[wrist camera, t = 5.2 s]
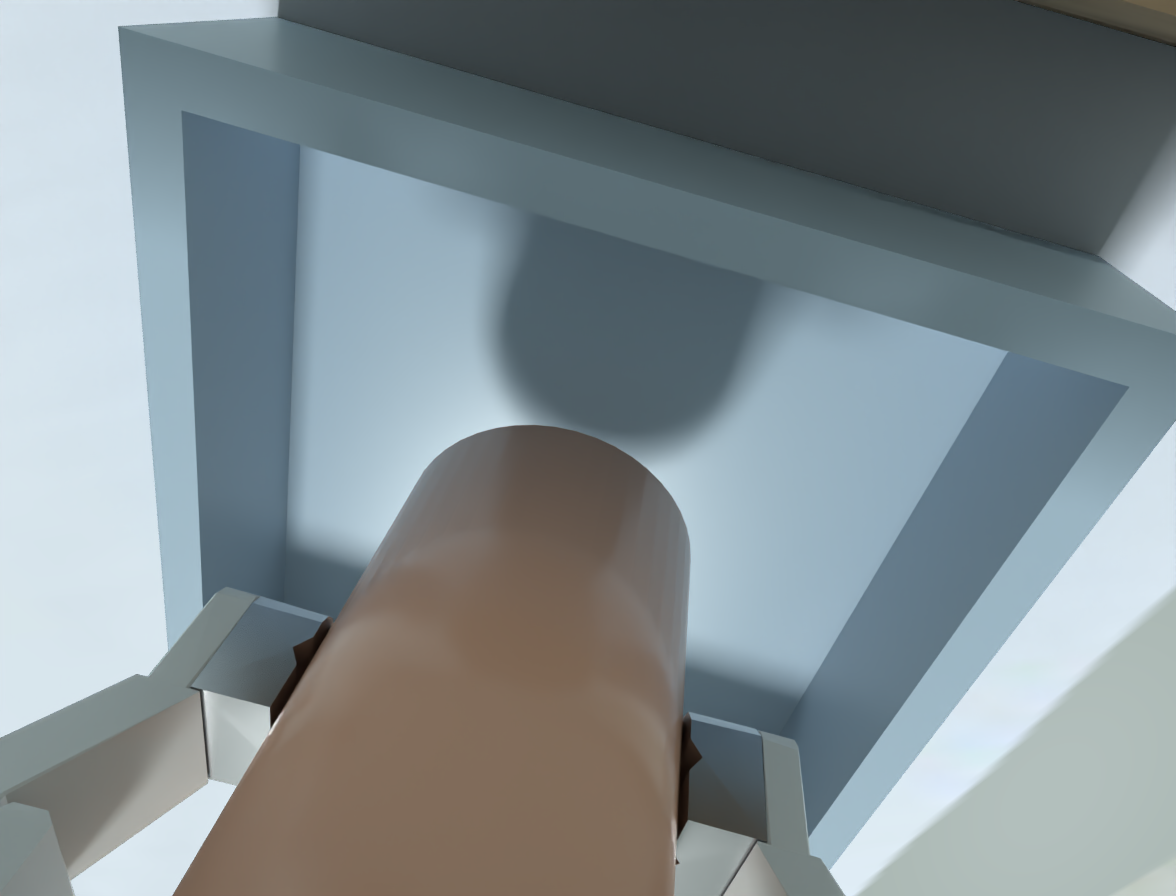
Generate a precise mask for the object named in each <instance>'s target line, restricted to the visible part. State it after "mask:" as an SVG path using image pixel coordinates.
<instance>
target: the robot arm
mask: <svg viewBox="0 0 1176 896" xmlns="http://www.w3.org/2000/svg"><path fill="white" fill-rule="evenodd" d="M332 625H333V618H332V617H329V616H326V615H323V614H319V613H316V612H313V611H309V610H306V609H302V608H299V607H296V606H292V605H289V604H286V603H282V602H279V601H276V600H272V599H269V598H265V597H262V596H258V595H254V594H251V593H247V592H244V591H240V590H237V589H233V588H230V587H225V588H223V589H222V590H220V591H219V592H217V593H216V594H214V595H213V597H212V598H211V599H210V600H209V602H208V603H207V604H206V605H205V606H204V608H203V609H202V610H201V611H200V613H199V614H198V615H197V616H196V618H195V619H194V620H193V621H192V622H191V624H190V625H189V626H188V627H187V629H186V630H185V631H184V632H183V633H182V635H181V636H180V637H179V638H178V640H177V641H176V642H175V643H174V645H173V646H172V647H171V648H170V649H169V651H168V652H167V653H166V654H165V656H164V657H163V658H162V659H161V661H160V662H159V663H158V664H157V665H156V667H155V668H154V669H153V670H152V672H151V673H150V674H149V675H148V677H147V676H143V675H139V674H135V675H133V676H131V677H129V678H127V679H125V680H123V681H121V682H118V683H116V684H114V685H112V686H110V687H108V688H106V689H103V690H101V691H99V692H97V693H95V694H93V695H91V696H89V697H86V698H84V699H82V700H80V701H78V702H76V703H74V704H71V705H69V706H67V707H65V708H63V709H61V710H59V711H56V712H54V713H52V714H50V715H48V716H46V717H44V718H42V719H39V720H37V721H35V722H33V723H31V724H29V725H27V726H24V727H22V728H20V729H18V730H16V731H14V732H12V733H10V734H7V735H5V736H3V737H1V738H0V896H75V894H74V891H73V887H72V884H71V881H70V880H72V879H73V878H75V877H76V876H78V875H79V874H80V873H82V872H83V871H85V870H86V869H87V868H89V867H90V866H92V865H93V864H94V863H96V862H97V861H99V860H100V859H102V858H103V857H104V856H106V855H107V854H109V853H110V852H111V851H113V850H114V849H116V848H117V847H118V846H120V845H121V844H123V843H124V842H126V841H127V840H128V839H130V838H131V837H133V836H134V835H135V834H137V833H138V832H140V831H141V830H142V829H144V828H145V827H147V826H148V825H150V824H151V823H152V822H154V821H155V820H157V819H158V818H159V817H161V816H162V815H164V814H165V813H166V812H168V811H169V810H171V809H172V808H174V807H175V806H176V805H178V804H179V803H181V802H182V801H183V800H185V799H186V798H188V797H189V796H191V795H192V794H193V793H195V792H196V791H198V790H199V789H200V788H202V787H203V786H205V785H206V784H207V783H208V779H211V780H216V781H220V782H224V783H228V784H232V785H236V786H238V784H239V782H240V780H241V779H242V777H243V775H244V774H245V772H246V770H247V769H248V767H249V765H250V764H251V762H252V760H253V758H254V757H255V755H256V753H257V752H258V750H259V748H260V747H261V745H262V743H263V742H264V740H265V738H266V736H267V735H268V733H269V731H270V730H271V728H272V726H273V725H274V723H275V721H276V720H277V718H278V716H279V715H280V713H281V711H282V709H283V708H284V706H285V704H286V703H287V701H288V699H289V698H290V696H291V694H292V693H293V691H294V689H295V687H296V686H297V684H298V682H299V681H300V679H301V677H302V676H303V674H304V672H305V671H306V669H307V667H308V665H309V664H310V662H311V660H312V659H313V657H314V655H315V654H316V652H317V650H318V649H319V647H320V645H321V643H322V642H323V640H324V638H325V637H326V635H327V633H328V632H329V630H330V628H331V627H332ZM674 896H845V895H844V893H843V891H842V890H841V888H840V887H839V885H838V884H837V882H836V881H835V879H834V878H833V876H832V875H831V873H830V871H829V870H828V868H827V867H826V865H825V864H824V862H823V861H822V859H821V858H818V857H814V856H811V855H810V849H809V839H808V830H807V821H806V812H805V803H804V793H803V784H802V775H801V766H800V756H799V747H798V746H797V744H796V742H795V740H793V739H789V738H786V737H782V736H778V735H774V734H771V733H767V732H763V731H760V730H759V731H757V730H756V729H755V728H751V727H747V726H743V725H739V724H735V723H731V722H727V721H723V720H719V719H715V718H712V717H708V716H704V715H700V714H696V713H692V712H688V713H687V714H686V715H685V716H684V717H683V726H682V747H681V767H680V787H679V807H678V827H677V847H676V868H675V888H674Z"/></svg>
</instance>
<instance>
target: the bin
mask: <svg viewBox="0 0 1176 896" xmlns="http://www.w3.org/2000/svg"><path fill="white" fill-rule="evenodd" d="M118 31H119V43H120V56H121V68H122V80H123V93H124V105H125V118H126V130H127V143H128V155H129V167H130V180H131V192H132V205H133V217H134V230H135V242H136V254H137V267H138V279H139V292H140V304H141V317H142V329H143V342H144V354H145V366H146V379H147V391H148V404H149V416H150V429H151V441H152V453H153V466H154V478H155V491H156V503H157V516H158V528H159V540H160V553H161V565H162V578H163V590H164V603H165V615H166V627H167V640H168V651H169V649H170V648H171V647H172V646H173V645H174V643H175V642H176V641H177V640H178V638H179V637H180V636H181V635H182V633H183V632H184V631H185V630H186V629H187V627H188V626H189V625H190V624H191V622H192V621H193V620H194V619H195V618H196V616H197V615H198V614H199V613H200V611H201V610H202V609H203V608H204V606H205V605H206V604H207V603H208V602H209V600H210V599H211V598H212V597H213V595H214V594H216V593H217V592H219V591H220V590H222V589H223V588H225V587H230V588H233V589H237V590H240V591H244V592H247V593H251V594H254V595H258V596H262V597H265V598H269V599H272V600H276V601H279V602H282V603H286V604H289V605H292V606H296V607H299V608H302V609H306V610H309V611H313V612H316V613H319V614H323V615H326V616H329V617H332V618H333V623H334V621H335V620H336V618H337V616H338V615H339V613H340V611H341V610H342V608H343V606H344V605H345V603H346V601H347V600H348V598H349V596H350V594H351V593H352V591H353V589H354V588H355V586H356V584H357V583H358V581H359V579H360V578H361V576H362V574H363V572H364V571H365V569H366V567H367V566H368V564H369V562H370V561H371V559H372V557H373V556H374V554H375V552H376V550H377V549H378V547H379V545H380V544H381V542H382V540H383V539H384V537H385V535H386V534H387V532H388V530H389V528H390V527H391V525H392V523H393V522H394V520H395V518H396V517H397V515H398V513H399V512H400V510H401V508H402V507H403V505H404V503H405V501H406V500H407V498H408V496H409V495H410V493H411V491H412V490H413V488H414V486H415V485H416V483H417V481H418V480H419V478H420V476H421V475H422V473H423V471H424V470H425V469H426V468H427V467H428V465H429V464H430V463H431V462H432V461H433V460H434V459H435V458H436V457H437V456H438V455H440V454H441V453H442V452H443V451H444V450H445V449H447V448H448V447H450V446H452V445H453V444H455V443H457V442H458V441H460V440H462V439H464V438H467V437H469V436H471V435H474V434H476V433H479V432H483V431H486V430H490V429H494V428H499V427H506V426H513V425H542V426H552V427H559V428H564V429H568V430H573V431H577V432H580V433H583V434H586V435H589V436H592V437H595V438H598V439H600V440H602V441H604V442H606V443H609V444H611V445H613V446H615V447H617V448H618V449H620V450H622V451H623V452H625V453H627V454H628V455H630V456H631V457H633V458H634V459H635V460H637V461H638V462H639V463H641V464H642V465H643V466H644V467H646V468H647V469H648V470H649V471H650V472H651V473H652V474H653V475H654V476H655V477H656V478H657V479H658V480H659V481H660V482H661V483H662V484H663V486H664V487H665V488H666V489H667V491H668V492H669V493H670V495H671V496H672V497H673V499H674V501H675V503H676V504H677V506H678V508H679V510H680V511H681V514H682V516H683V519H684V522H685V524H686V527H687V531H688V535H689V540H690V551H691V565H690V585H689V605H688V626H687V646H686V666H685V686H684V706H683V717H684V716H685V715H686V714H687V713H688V712H692V713H696V714H700V715H704V716H708V717H712V718H715V719H719V720H723V721H727V722H731V723H735V724H739V725H743V726H747V727H751V728H755V729H756V730H757V731H759V730H760V731H763V732H767V733H771V734H774V735H778V736H782V737H786V738H789V739H793V740H795V742H796V744H797V746H798V747H799V756H800V766H801V775H802V784H803V793H804V803H805V812H806V821H807V830H808V839H809V849H810V855H811V856H814V857H818V858H821V859H822V861H823V862H824V864H825V865H826V867H827V868H828V870H830V869H831V868H832V866H833V865H834V864H835V862H836V861H837V860H838V858H839V857H840V856H841V855H842V853H843V852H844V851H845V849H846V848H847V847H848V845H849V844H850V843H851V842H852V840H853V839H854V838H855V836H856V835H857V834H858V832H859V831H860V830H861V829H862V827H863V826H864V825H865V823H866V822H867V821H868V819H869V818H870V817H871V816H872V814H873V813H874V812H875V810H876V809H877V808H878V807H879V805H880V804H881V803H882V801H883V800H884V799H885V797H886V796H887V795H888V794H889V792H890V791H891V790H892V788H893V787H894V786H895V784H896V783H897V782H898V781H899V779H900V778H901V777H902V775H903V774H904V773H905V771H906V770H907V769H908V768H909V766H910V765H911V764H912V762H913V761H914V760H915V758H916V757H917V756H918V755H919V753H920V752H921V751H922V749H923V748H924V747H925V745H926V744H927V743H928V742H929V740H930V739H931V738H932V736H933V735H934V734H935V732H936V731H937V730H938V729H939V727H940V726H941V725H942V723H943V722H944V721H945V719H946V718H947V717H948V716H949V714H950V713H951V712H952V710H953V709H954V708H955V707H956V705H957V704H958V703H959V701H960V700H961V699H962V697H963V696H964V695H965V694H966V692H967V691H968V690H969V688H970V687H971V686H972V684H973V683H974V682H975V681H976V679H977V678H978V677H979V675H980V674H981V673H982V671H983V670H984V669H985V668H986V666H987V665H988V664H989V662H990V661H991V660H992V658H993V657H994V656H995V655H996V653H997V652H998V651H999V649H1000V648H1001V647H1002V645H1003V644H1004V643H1005V642H1006V640H1007V639H1008V638H1009V636H1010V635H1011V634H1012V632H1013V631H1014V630H1015V629H1016V627H1017V626H1018V625H1019V623H1020V622H1021V621H1022V619H1023V618H1024V617H1025V616H1026V614H1027V613H1028V612H1029V610H1030V609H1031V608H1032V607H1033V605H1034V604H1035V603H1036V601H1037V600H1038V599H1039V597H1040V596H1041V595H1042V594H1043V592H1044V591H1045V590H1046V588H1047V587H1048V586H1049V584H1050V583H1051V582H1052V581H1053V579H1054V578H1055V577H1056V575H1057V574H1058V573H1059V571H1060V570H1061V569H1062V568H1063V566H1064V565H1065V564H1066V562H1067V561H1068V560H1069V558H1070V557H1071V556H1072V555H1073V553H1074V552H1075V551H1076V549H1077V548H1078V547H1079V545H1080V544H1081V543H1082V542H1083V540H1084V539H1085V538H1086V536H1087V535H1088V534H1089V532H1090V531H1091V530H1092V529H1093V527H1094V526H1095V525H1096V523H1097V522H1098V521H1099V520H1100V518H1101V517H1102V516H1103V514H1104V513H1105V512H1106V510H1107V509H1108V508H1109V507H1110V505H1111V504H1112V503H1113V501H1114V500H1115V499H1116V497H1117V496H1118V495H1119V494H1120V492H1121V491H1122V490H1123V488H1124V487H1125V486H1126V484H1127V483H1128V482H1129V481H1130V479H1131V478H1132V477H1133V475H1134V474H1135V473H1136V471H1137V470H1138V469H1139V468H1140V466H1141V465H1142V464H1143V462H1144V461H1145V460H1146V458H1147V457H1148V456H1149V455H1150V453H1151V452H1152V451H1153V449H1154V448H1155V447H1156V445H1157V444H1158V443H1159V442H1160V440H1161V439H1162V438H1163V436H1164V435H1165V434H1166V432H1167V431H1168V430H1169V429H1170V427H1171V426H1172V425H1173V423H1174V422H1175V421H1176V311H1174V310H1173V309H1172V308H1170V307H1169V306H1167V305H1166V304H1165V303H1163V302H1162V301H1161V300H1159V299H1158V298H1156V297H1155V296H1154V295H1152V294H1151V293H1149V292H1148V291H1147V290H1145V289H1144V288H1142V287H1141V286H1140V285H1138V284H1137V283H1135V282H1134V281H1133V280H1131V279H1130V278H1128V277H1127V276H1126V275H1124V274H1123V273H1121V272H1120V271H1119V270H1117V269H1116V268H1114V267H1113V266H1112V265H1110V264H1109V263H1107V262H1106V261H1105V260H1103V259H1102V258H1100V257H1099V256H1096V255H1092V254H1089V253H1086V252H1082V251H1079V250H1075V249H1072V248H1068V247H1065V246H1062V245H1058V244H1055V243H1051V242H1048V241H1044V240H1041V239H1037V238H1034V237H1031V236H1027V235H1024V234H1020V233H1017V232H1013V231H1010V230H1007V229H1003V228H1000V227H996V226H993V225H989V224H986V223H982V222H979V221H976V220H972V219H969V218H965V217H962V216H958V215H955V214H951V213H948V212H945V211H941V210H938V209H934V208H931V207H927V206H924V205H921V204H917V203H914V202H910V201H907V200H903V199H900V198H896V197H893V196H890V195H886V194H883V193H879V192H876V191H872V190H869V189H866V188H862V187H859V186H855V185H852V184H848V183H845V182H841V181H838V180H835V179H831V178H828V177H824V176H821V175H817V174H814V173H810V172H807V171H804V170H800V169H797V168H793V167H790V166H786V165H783V164H780V163H776V162H773V161H769V160H766V159H762V158H759V157H755V156H752V155H749V154H745V153H742V152H738V151H735V150H731V149H728V148H725V147H721V146H718V145H714V144H711V143H707V142H704V141H700V140H697V139H694V138H690V137H687V136H683V135H680V134H676V133H673V132H670V131H666V130H663V129H659V128H656V127H652V126H649V125H645V124H642V123H639V122H635V121H632V120H628V119H625V118H621V117H618V116H614V115H611V114H608V113H604V112H601V111H597V110H594V109H590V108H587V107H584V106H580V105H577V104H573V103H570V102H566V101H563V100H559V99H556V98H553V97H549V96H546V95H542V94H539V93H535V92H532V91H529V90H525V89H522V88H518V87H515V86H511V85H508V84H504V83H501V82H498V81H494V80H491V79H487V78H484V77H480V76H477V75H474V74H470V73H467V72H463V71H460V70H456V69H453V68H449V67H446V66H443V65H439V64H436V63H432V62H429V61H425V60H422V59H418V58H415V57H412V56H408V55H405V54H401V53H398V52H394V51H391V50H388V49H384V48H381V47H377V46H374V45H370V44H367V43H363V42H360V41H357V40H353V39H350V38H346V37H343V36H339V35H336V34H333V33H329V32H326V31H322V30H319V29H315V28H312V27H308V26H305V25H302V24H298V23H295V22H291V21H288V20H284V19H281V18H278V17H269V18H252V19H234V20H217V21H200V22H183V23H166V24H149V25H132V26H118Z"/></svg>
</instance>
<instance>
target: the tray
mask: <svg viewBox="0 0 1176 896" xmlns="http://www.w3.org/2000/svg"><path fill="white" fill-rule="evenodd" d="M1015 1H1018V2H1022V3H1025V4H1029V5H1032V6H1036V7H1039V8H1043V9H1046V10H1050V11H1053V12H1056V13H1060V14H1063V15H1067V16H1070V17H1074V18H1077V19H1081V20H1084V21H1088V22H1091V23H1095V24H1098V25H1101V26H1105V27H1108V28H1112V29H1115V30H1119V31H1122V32H1126V33H1129V34H1133V35H1136V36H1140V37H1143V38H1146V39H1150V40H1153V41H1157V42H1160V43H1164V44H1167V45H1171V46H1174V47H1176V0H1015Z"/></svg>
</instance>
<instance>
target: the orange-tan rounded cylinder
mask: <svg viewBox="0 0 1176 896" xmlns="http://www.w3.org/2000/svg"><path fill="white" fill-rule="evenodd" d="M690 565H691V551H690V540H689V535H688V531H687V527H686V524H685V522H684V519H683V516H682V514H681V511H680V510H679V508H678V506H677V504H676V503H675V501H674V499H673V497H672V496H671V495H670V493H669V492H668V491H667V489H666V488H665V487H664V486H663V484H662V483H661V482H660V481H659V480H658V479H657V478H656V477H655V476H654V475H653V474H652V473H651V472H650V471H649V470H648V469H647V468H646V467H644V466H643V465H642V464H641V463H639V462H638V461H637V460H635V459H634V458H633V457H631V456H630V455H628V454H627V453H625V452H623V451H622V450H620V449H618V448H617V447H615V446H613V445H611V444H609V443H606V442H604V441H602V440H600V439H598V438H595V437H592V436H589V435H586V434H583V433H580V432H577V431H573V430H568V429H564V428H559V427H552V426H542V425H513V426H506V427H499V428H494V429H490V430H486V431H483V432H479V433H476V434H474V435H471V436H469V437H467V438H464V439H462V440H460V441H458V442H457V443H455V444H453V445H452V446H450V447H448V448H447V449H445V450H444V451H443V452H442V453H441V454H440V455H438V456H437V457H436V458H435V459H434V460H433V461H432V462H431V463H430V464H429V465H428V467H427V468H426V469H425V470H424V471H423V473H422V475H421V476H420V478H419V480H418V481H417V483H416V485H415V486H414V488H413V490H412V491H411V493H410V495H409V496H408V498H407V500H406V501H405V503H404V505H403V507H402V508H401V510H400V512H399V513H398V515H397V517H396V518H395V520H394V522H393V523H392V525H391V527H390V528H389V530H388V532H387V534H386V535H385V537H384V539H383V540H382V542H381V544H380V545H379V547H378V549H377V550H376V552H375V554H374V556H373V557H372V559H371V561H370V562H369V564H368V566H367V567H366V569H365V571H364V572H363V574H362V576H361V578H360V579H359V581H358V583H357V584H356V586H355V588H354V589H353V591H352V593H351V594H350V596H349V598H348V600H347V601H346V603H345V605H344V606H343V608H342V610H341V611H340V613H339V615H338V616H337V618H336V620H335V621H334V623H333V625H332V627H331V628H330V630H329V632H328V633H327V635H326V637H325V638H324V640H323V642H322V643H321V645H320V647H319V649H318V650H317V652H316V654H315V655H314V657H313V659H312V660H311V662H310V664H309V665H308V667H307V669H306V671H305V672H304V674H303V676H302V677H301V679H300V681H299V682H298V684H297V686H296V687H295V689H294V691H293V693H292V694H291V696H290V698H289V699H288V701H287V703H286V704H285V706H284V708H283V709H282V711H281V713H280V715H279V716H278V718H277V720H276V721H275V723H274V725H273V726H272V728H271V730H270V731H269V733H268V735H267V736H266V738H265V740H264V742H263V743H262V745H261V747H260V748H259V750H258V752H257V753H256V755H255V757H254V758H253V760H252V762H251V764H250V765H249V767H248V769H247V770H246V772H245V774H244V775H243V777H242V779H241V780H240V782H239V784H238V786H237V787H236V789H235V791H234V792H233V794H232V796H231V797H230V799H229V801H228V802H227V804H226V806H225V808H224V809H223V811H222V813H221V814H220V816H219V818H218V819H217V821H216V823H215V824H214V826H213V828H212V829H211V831H210V833H209V835H208V836H207V838H206V840H205V841H204V843H203V845H202V846H201V848H200V850H199V851H198V853H197V855H196V857H195V858H194V860H193V862H192V863H191V865H190V867H189V868H188V870H187V872H186V873H185V875H184V877H183V879H182V880H181V882H180V884H179V885H178V887H177V889H176V890H175V892H174V894H173V895H172V896H674V888H675V868H676V847H677V827H678V807H679V787H680V767H681V747H682V726H683V706H684V686H685V666H686V646H687V626H688V605H689V585H690Z"/></svg>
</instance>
